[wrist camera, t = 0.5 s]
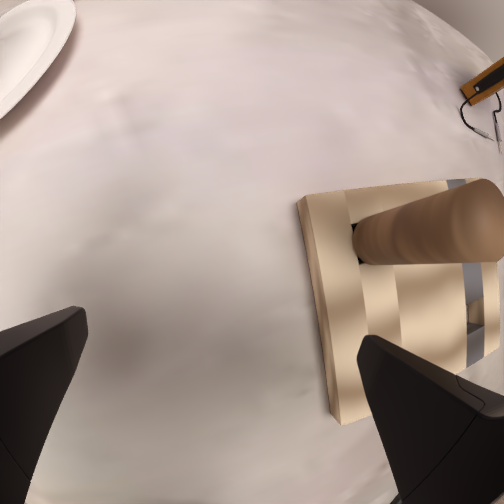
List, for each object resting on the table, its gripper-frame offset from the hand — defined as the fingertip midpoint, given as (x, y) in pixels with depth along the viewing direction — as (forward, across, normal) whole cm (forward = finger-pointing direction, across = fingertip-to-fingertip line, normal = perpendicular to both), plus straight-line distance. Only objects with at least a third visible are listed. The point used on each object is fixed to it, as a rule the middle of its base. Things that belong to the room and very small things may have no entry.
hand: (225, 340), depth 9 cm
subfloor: (+13, -17, +3) cm, 22 cm away
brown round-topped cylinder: (+14, -10, 0) cm, 18 cm away
